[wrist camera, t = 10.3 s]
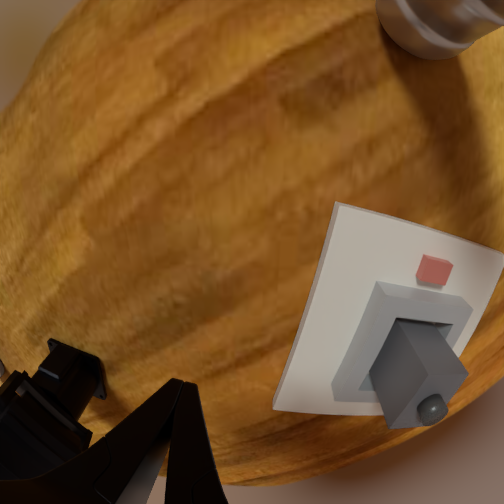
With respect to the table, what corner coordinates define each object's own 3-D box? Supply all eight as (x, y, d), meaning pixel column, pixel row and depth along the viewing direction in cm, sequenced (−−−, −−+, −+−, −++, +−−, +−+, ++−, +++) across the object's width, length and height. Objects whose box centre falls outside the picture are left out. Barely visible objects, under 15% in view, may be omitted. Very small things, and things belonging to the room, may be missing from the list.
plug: (402, 367, 21) (434, 437, 13) (366, 365, 21) (392, 442, 13) (429, 318, 19) (476, 386, 11) (392, 313, 19) (436, 389, 11)
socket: (416, 405, 24) (425, 426, 21) (272, 399, 24) (272, 426, 21) (499, 251, 18) (521, 265, 15) (335, 201, 18) (348, 213, 15)
